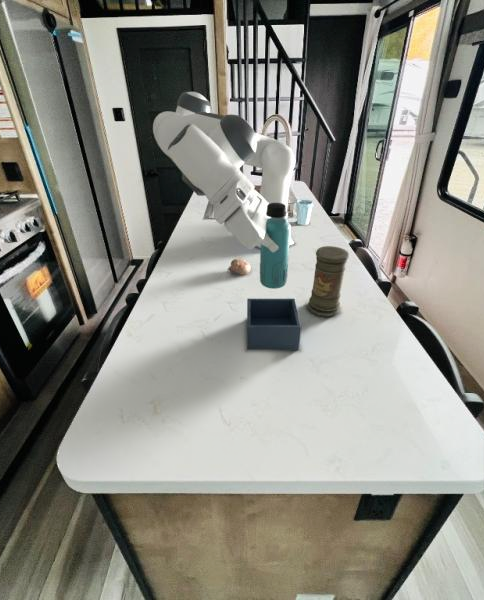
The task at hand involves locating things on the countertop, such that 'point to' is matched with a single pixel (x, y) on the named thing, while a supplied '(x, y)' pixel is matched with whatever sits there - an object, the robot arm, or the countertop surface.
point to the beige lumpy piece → (239, 267)
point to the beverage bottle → (277, 262)
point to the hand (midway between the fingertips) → (278, 243)
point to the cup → (303, 211)
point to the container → (328, 281)
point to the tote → (272, 324)
